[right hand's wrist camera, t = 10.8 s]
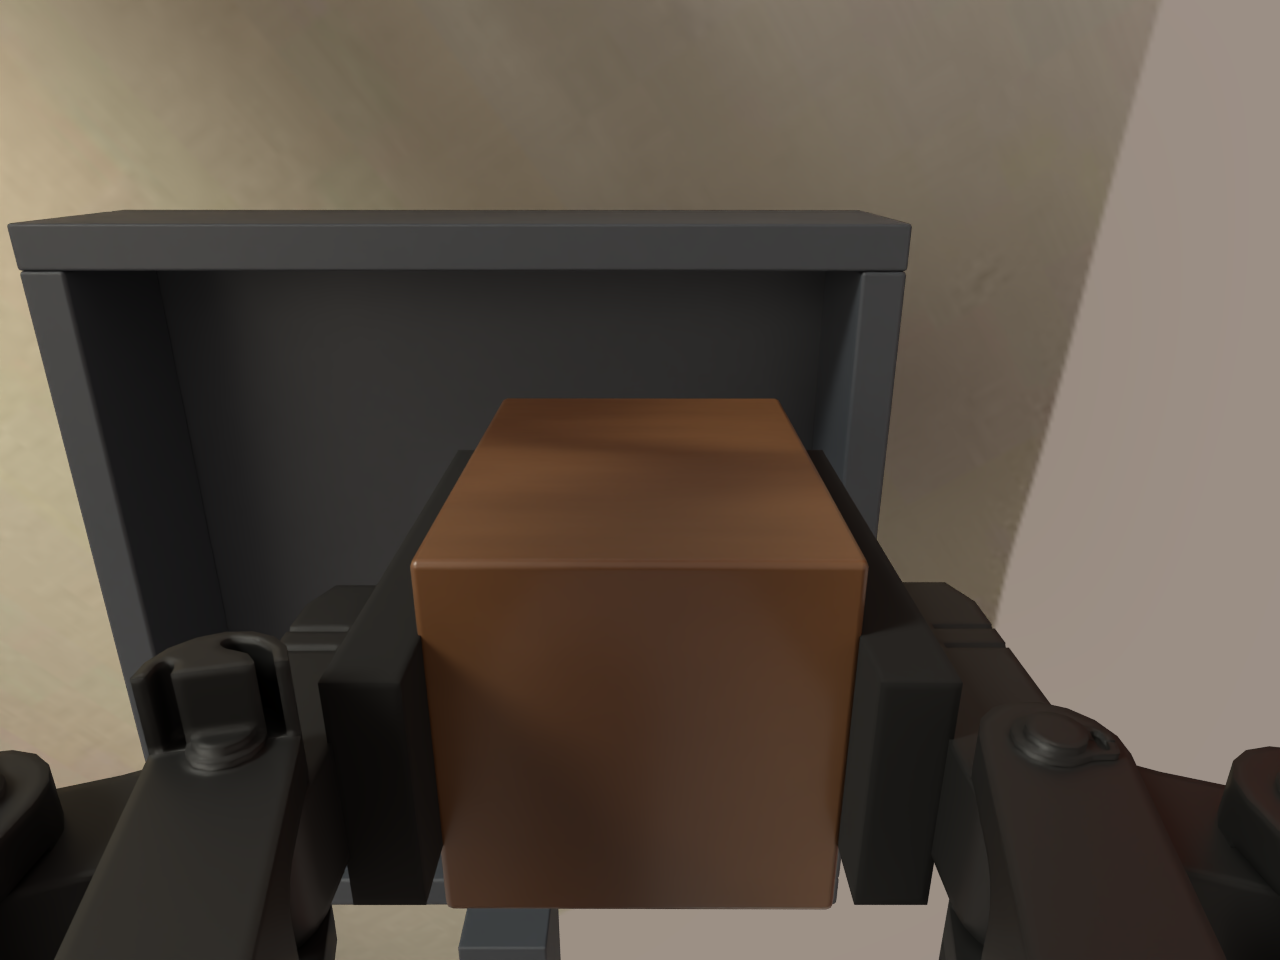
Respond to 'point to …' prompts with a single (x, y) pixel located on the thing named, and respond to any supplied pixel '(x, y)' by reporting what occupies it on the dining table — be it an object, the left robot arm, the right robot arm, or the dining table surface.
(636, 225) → the tray
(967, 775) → the right robot arm
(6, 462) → the dining table surface
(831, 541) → the walnut block
